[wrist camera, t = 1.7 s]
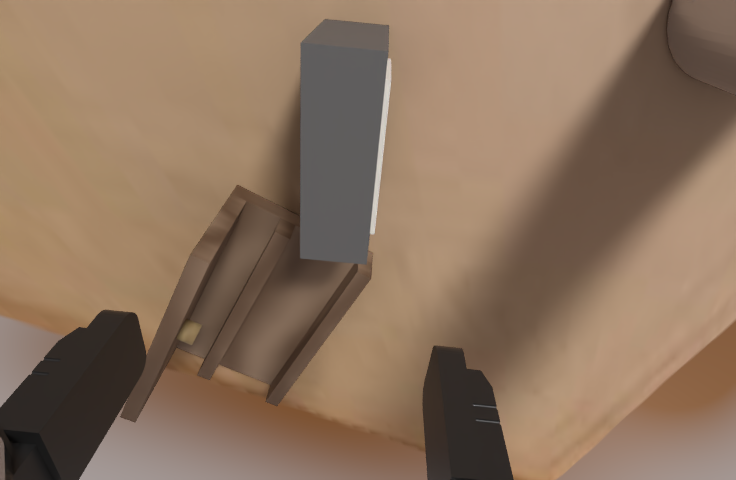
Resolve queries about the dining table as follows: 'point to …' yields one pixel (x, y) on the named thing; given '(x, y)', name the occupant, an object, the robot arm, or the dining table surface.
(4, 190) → the dining table surface
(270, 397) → the picture ledge
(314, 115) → the mini frame
